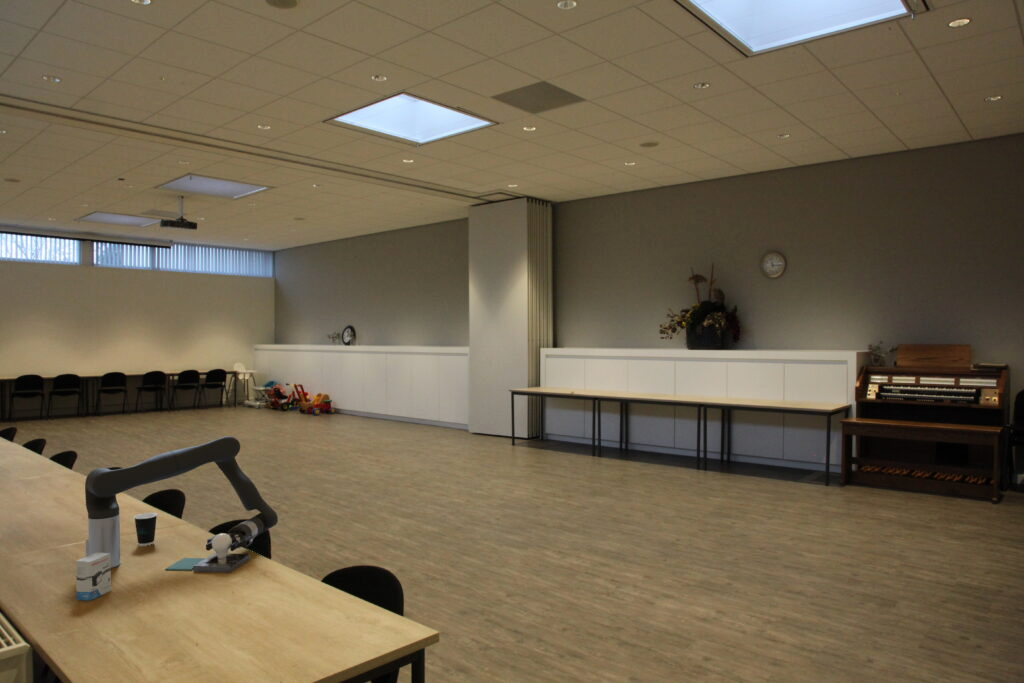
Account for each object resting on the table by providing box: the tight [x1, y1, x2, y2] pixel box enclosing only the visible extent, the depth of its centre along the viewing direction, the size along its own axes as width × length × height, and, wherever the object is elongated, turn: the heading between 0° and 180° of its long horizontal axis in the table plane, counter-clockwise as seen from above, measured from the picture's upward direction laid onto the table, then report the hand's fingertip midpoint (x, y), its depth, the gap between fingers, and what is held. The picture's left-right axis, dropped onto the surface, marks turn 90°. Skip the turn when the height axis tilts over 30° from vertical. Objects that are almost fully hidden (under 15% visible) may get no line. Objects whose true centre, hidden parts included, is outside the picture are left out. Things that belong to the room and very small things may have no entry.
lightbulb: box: [212, 532, 232, 564], centre depth 233 cm, size 6×6×11 cm
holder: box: [192, 552, 250, 574], centre depth 233 cm, size 13×13×2 cm
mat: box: [165, 557, 207, 572], centre depth 234 cm, size 9×11×1 cm
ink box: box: [75, 553, 112, 602], centre depth 208 cm, size 8×5×12 cm, turn 168°
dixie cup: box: [133, 512, 158, 547], centre depth 258 cm, size 8×8×11 cm
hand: (219, 547), depth 231 cm, fingers open, 8 cm apart
